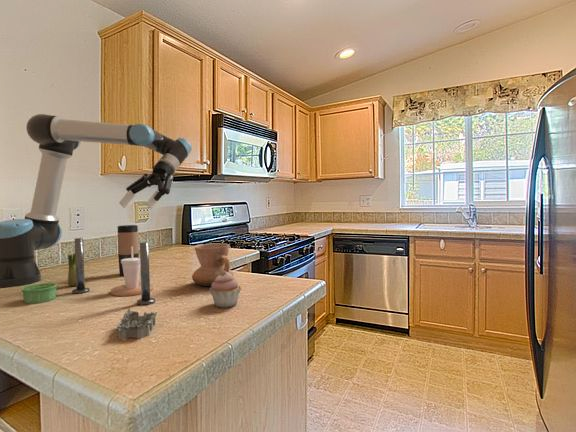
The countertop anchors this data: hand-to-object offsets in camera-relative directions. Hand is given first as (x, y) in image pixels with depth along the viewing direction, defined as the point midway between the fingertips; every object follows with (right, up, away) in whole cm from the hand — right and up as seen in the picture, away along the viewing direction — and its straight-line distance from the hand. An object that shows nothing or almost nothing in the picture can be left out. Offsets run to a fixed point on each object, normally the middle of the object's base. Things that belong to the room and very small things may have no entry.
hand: (134, 205), depth 125 cm
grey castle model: (+20, -31, -43) cm, 57 cm away
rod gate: (-1, -29, -16) cm, 33 cm away
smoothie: (+3, -28, -8) cm, 29 cm away
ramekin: (-21, -30, -18) cm, 41 cm away
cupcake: (+37, -30, -25) cm, 54 cm away
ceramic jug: (+29, -29, -1) cm, 40 cm away
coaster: (+3, -29, -8) cm, 30 cm away
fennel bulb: (-21, -29, 0) cm, 36 cm away
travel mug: (-10, -28, +18) cm, 35 cm away
